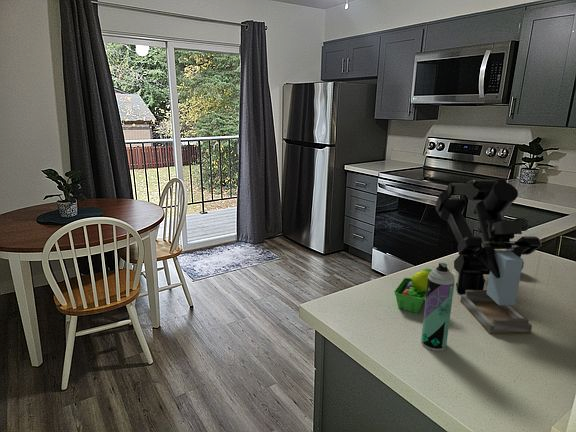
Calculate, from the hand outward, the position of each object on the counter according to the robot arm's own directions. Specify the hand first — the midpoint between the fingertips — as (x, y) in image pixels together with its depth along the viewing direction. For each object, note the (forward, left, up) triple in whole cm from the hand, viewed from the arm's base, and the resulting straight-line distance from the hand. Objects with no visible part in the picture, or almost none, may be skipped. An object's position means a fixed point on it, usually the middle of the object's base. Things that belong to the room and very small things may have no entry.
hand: (507, 277), depth 94 cm
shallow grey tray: (-1, +3, -13) cm, 13 cm away
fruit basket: (-21, +3, -13) cm, 25 cm away
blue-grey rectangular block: (0, +1, -7) cm, 7 cm away
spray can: (-16, -15, -13) cm, 25 cm away
